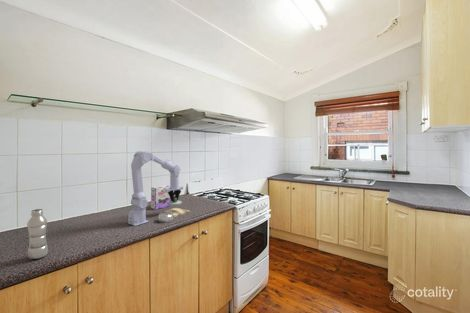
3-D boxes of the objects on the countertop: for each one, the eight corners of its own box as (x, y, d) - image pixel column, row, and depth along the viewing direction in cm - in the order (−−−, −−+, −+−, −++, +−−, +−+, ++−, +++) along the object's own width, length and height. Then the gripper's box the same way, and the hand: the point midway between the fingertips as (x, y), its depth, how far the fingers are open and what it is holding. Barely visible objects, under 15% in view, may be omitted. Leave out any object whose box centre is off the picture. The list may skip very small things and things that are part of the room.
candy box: (155, 209, 166) (155, 187, 166) (150, 208, 170) (150, 187, 169) (170, 206, 177) (170, 185, 177) (166, 204, 181) (166, 184, 180)
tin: (164, 224, 137) (164, 217, 137) (155, 221, 142) (155, 214, 142) (176, 220, 144) (176, 214, 144) (166, 217, 149) (166, 211, 149)
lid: (174, 205, 152) (174, 200, 152) (164, 203, 157) (164, 198, 157) (184, 202, 160) (184, 197, 160) (174, 201, 165) (174, 195, 165)
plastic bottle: (29, 262, 90) (27, 213, 89) (26, 257, 94) (25, 210, 93) (49, 257, 94) (48, 210, 94) (46, 252, 99) (45, 207, 98)
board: (172, 217, 149) (172, 216, 148) (158, 214, 156) (158, 212, 156) (189, 212, 162) (189, 210, 162) (176, 208, 170) (176, 207, 170)
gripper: (170, 183, 150) (170, 203, 150) (186, 181, 162) (186, 199, 162) (163, 182, 154) (163, 202, 154) (179, 180, 166) (179, 198, 166)
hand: (174, 200), depth 159 cm, fingers closed on lid, 3 cm apart
